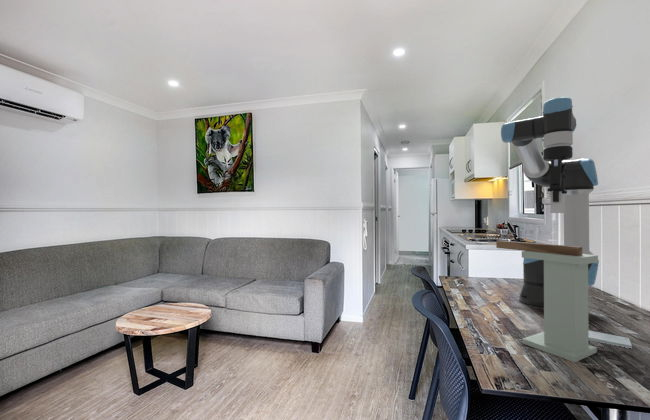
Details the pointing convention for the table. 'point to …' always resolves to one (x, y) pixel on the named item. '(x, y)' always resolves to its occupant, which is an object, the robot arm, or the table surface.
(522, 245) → the walnut bar
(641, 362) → the table surface
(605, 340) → the hard drive
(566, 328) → the sage stand
